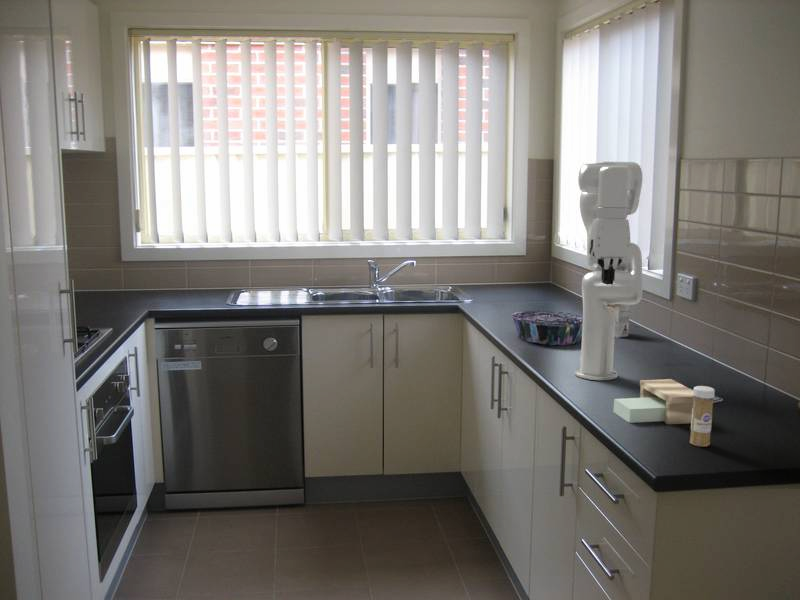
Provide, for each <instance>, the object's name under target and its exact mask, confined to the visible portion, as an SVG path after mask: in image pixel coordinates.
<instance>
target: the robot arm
mask: <svg viewBox="0 0 800 600" xmlns="http://www.w3.org/2000/svg"><path fill="white" fill-rule="evenodd" d="M578 187H579V189H580V191H581V194H580V196H579V209H580V210H579V211H580V215H581V216H580V217H581V219H582V222H583V224H584V228H585V230H586V238H587V239H586V261H587V262H586V263H587V266H588V268H589V270H590V272H587V273H586V274H584V276H583V277H582V280H581V295H582V317H583V325H582V335H581V344H580V345H581V347H580V358H579V362H580V363H579V364H580V366H579V367H577V368H575V370H574V374H575V376H576V377H579V378H581V379H585V380H590V381H591V380H593V381H611V380H615V379H617V378H618V372H617V371H616V370H614V368H613V366H614V351H615V338H616V337H615V317H614V315H613V313H612V312H611V310H610V309H609V308H608V307H607V305H608V304H625V305H630V306H631V305H636V304H638V303H640V301H642V297H643V289H644V288H643V287H644V285H643V282H644V281H643V259H642V251H641V248H640V246H639V245H638V244H636V243H633V242H631V230H630V228H631V227H630V222H629V219H627V218H628V215H633V214H636V213H637V210H638V208H639V203H640V196H641V192H642V187H643V171H642V168H641V166H640V164H638V163H637V162H635V161H634V162H633V161H603V162H595V163H585V164H584V163H583V164H581V167H580V169H579V171H578Z"/></svg>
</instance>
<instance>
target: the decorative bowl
mask: <svg viewBox="0 0 800 600" xmlns="http://www.w3.org/2000/svg"><path fill="white" fill-rule="evenodd" d="M511 316H512V318H513V322H514V326H515V327H516V331H517V334H518V337H520V338H521V339H523V340H524V341H527V342H529V343H534V344H538V345H539V344H540V345H543V346H544V345H545V346H546V345H547V346H565V345H566V346H573V345H574V344H577V343H579V341H580V339H581V338H582V325H583V316H581V315H580V314H577V313H573V312H567V311H565V312H563V311H557V310H527V311H518V312H514V313H512V314H511Z"/></svg>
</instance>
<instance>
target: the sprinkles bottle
mask: <svg viewBox="0 0 800 600" xmlns="http://www.w3.org/2000/svg"><path fill="white" fill-rule="evenodd" d="M693 390H694V391H693V395H694V396H693V397H694V400H693V408H692V420H691V423H690V436H689V437H690V438H689V443H690V444H691V445H693V446H696V447H708V446H710V445H711V431H712V424H713V423H712V422H713V409H714V408H713V407H714V406H713V404H714V403H713V399H714V396H715V391H716V390H715V388H713V387H711V386H706V385H697V386H694V387H693Z"/></svg>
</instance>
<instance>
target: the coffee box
mask: <svg viewBox="0 0 800 600" xmlns="http://www.w3.org/2000/svg"><path fill="white" fill-rule="evenodd" d="M607 307H608V308H609V309H610V310H611V312H612V313H613V315H614V317H615V338H617V339H618V338H624V337H629V329H630V317H631V315H630V313H631V305H625V304H608V305H607Z"/></svg>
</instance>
